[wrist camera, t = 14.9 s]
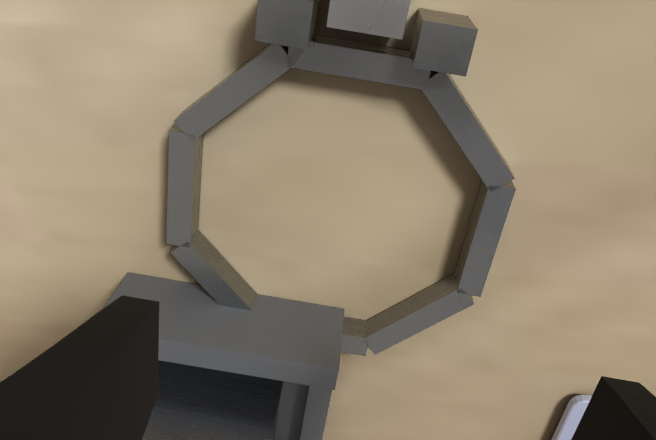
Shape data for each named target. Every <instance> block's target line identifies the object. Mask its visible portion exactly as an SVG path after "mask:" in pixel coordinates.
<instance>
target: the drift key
mask: <svg viewBox="0 0 656 440" xmlns="http://www.w3.org/2000/svg"><path fill="white" fill-rule="evenodd" d="M409 5H410V0H330V5H329V12H328V19H327V26H326V27H330V28H336V29H342V30H348V31H354V32H360V33H365V34H371V35H377V36H383V37H389V38H395V39H401V40H402V39H403V34H404V29H405V24H406V19H407V14H408V10H409Z"/></svg>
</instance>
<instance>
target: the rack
mask: <svg viewBox="0 0 656 440" xmlns="http://www.w3.org/2000/svg"><path fill="white" fill-rule="evenodd" d="M122 295H123V296H129V297H135V298H141V299H147V300H153V301H159V349H158V360H161V361H166V362H172V363H178V364H184V365H190V366H196V367H202V368H208V369H214V370H220V371H226V372H231V373H237V374H243V375H249V376H255V377H261V378H267V379H273V380H279V381H284V383H283V389H282V395H281V401H280V407H279V413H278V419H277V425H276V431H275V437H274V440H322V436H323V431H324V426H325V421H326V416H327V411H328V407H329V402H330V397H331V392H332V390H335V385H336V380H337V375H338V371H339V362H340V351H341V340H342V329H343V318H344V309H341V308H335V307H329V306H323V305H317V304H311V303H305V302H299V301H293V300H288V299H282V298H276V297H270V296H264V295H258V294H257V297H256V300H255V303H254V306H253V310H252V311H251V310H245V309H239V308H233V307H227V306H221V305H219V304H218V303H217V301H216V300H215V299H214V298H213V297H212V296H211V295H210V294H209V293H208V292H207V291H206V290H205V289H204V288H203V287H202V286H201V285H199V284H193V283H187V282H181V281H175V280H169V279H163V278H157V277H152V276H146V275H140V274H134V273H127V274H126V276H125V277H124V279H123V280H122V282H121V283H120V284H119V286H118V287H117V289H116V290H115V292H114V293H113V295H112V296H111V298H110V299H109V300H108V302H107V303H106V305H105V306H104V308H105V307H106V306H108V305H109V304H110V303H112V302H113V301H115V300H116V299H118V298H119V297H121V296H122Z"/></svg>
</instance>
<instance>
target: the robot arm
mask: <svg viewBox="0 0 656 440" xmlns="http://www.w3.org/2000/svg"><path fill="white" fill-rule="evenodd" d="M158 349H159V301H153V300H147V299H141V298H135V297H129V296H123V295H122V296H121V297H119V298H118V299H116V300H115V301H113V302H112V303H110V304H109V305H108V306H106V307H105V308H103V309H102V310H101V311H99V312H98V313H97V314H95V315H94V316H93V317H91V318H90V319H89V320H87V321H86V322H85V323H83V324H82V325H81V326H79V327H78V328H77V329H75V330H74V331H73V332H71V333H70V334H68V335H67V336H66V337H64V338H63V339H62V340H60V341H59V342H58V343H56V344H55V345H53V346H52V347H51V348H49V349H48V350H46V351H45V352H43V353H42V354H41V355H39V356H38V357H36V358H35V359H34V360H32V361H31V362H29V363H28V364H26V365H25V366H24V367H22V368H21V369H19V370H18V371H16V372H15V373H14V374H12V375H11V376H9V377H8V378H6V379H5V380H3V381H2V382H0V440H142V438H143V435H144V433H145V430H146V427H147V424H148V421H149V419H150V416H151V413H152V410H153V407H154V404H155V402H156V399H157V396H158ZM551 440H656V397H655V396H654V395H653V394H651V393H650V392H649V391H648V390H647V389H646V388H645V387H643V386H642V385H641V384H640V383H638V382H632V381H626V380H620V379H614V378H608V377H601V379H600V381H599V383H598V385H597V387H596V389H595V391H594V393H593V395H592V396H590V395H578V396H575V397H573V398H572V399H571V400H570V401H569V402H568V404H567V407H566V409H565V411H564V413H563V415H562V418H561V420H560V422H559V424H558V426H557V428H556V431H555V433H554V435H553V437H552V439H551Z"/></svg>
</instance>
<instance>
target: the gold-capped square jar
mask: <svg viewBox="0 0 656 440" xmlns="http://www.w3.org/2000/svg"><path fill="white" fill-rule="evenodd" d="M283 383H284V381H279V380H273V379H267V378H261V377H255V376H249V375H243V374H237V373H231V372H226V371H220V370H214V369H208V368H202V367H196V366H190V365H184V364H178V363H172V362H166V361H161V360H158V396H157V399H156V402H155V404H154V407H153V410H152V413H151V416H150V419H149V421H148V424H147V427H146V430H145V433H144V435H143V438H142V440H274V437H275V431H276V425H277V419H278V413H279V407H280V401H281V395H282V389H283Z"/></svg>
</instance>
